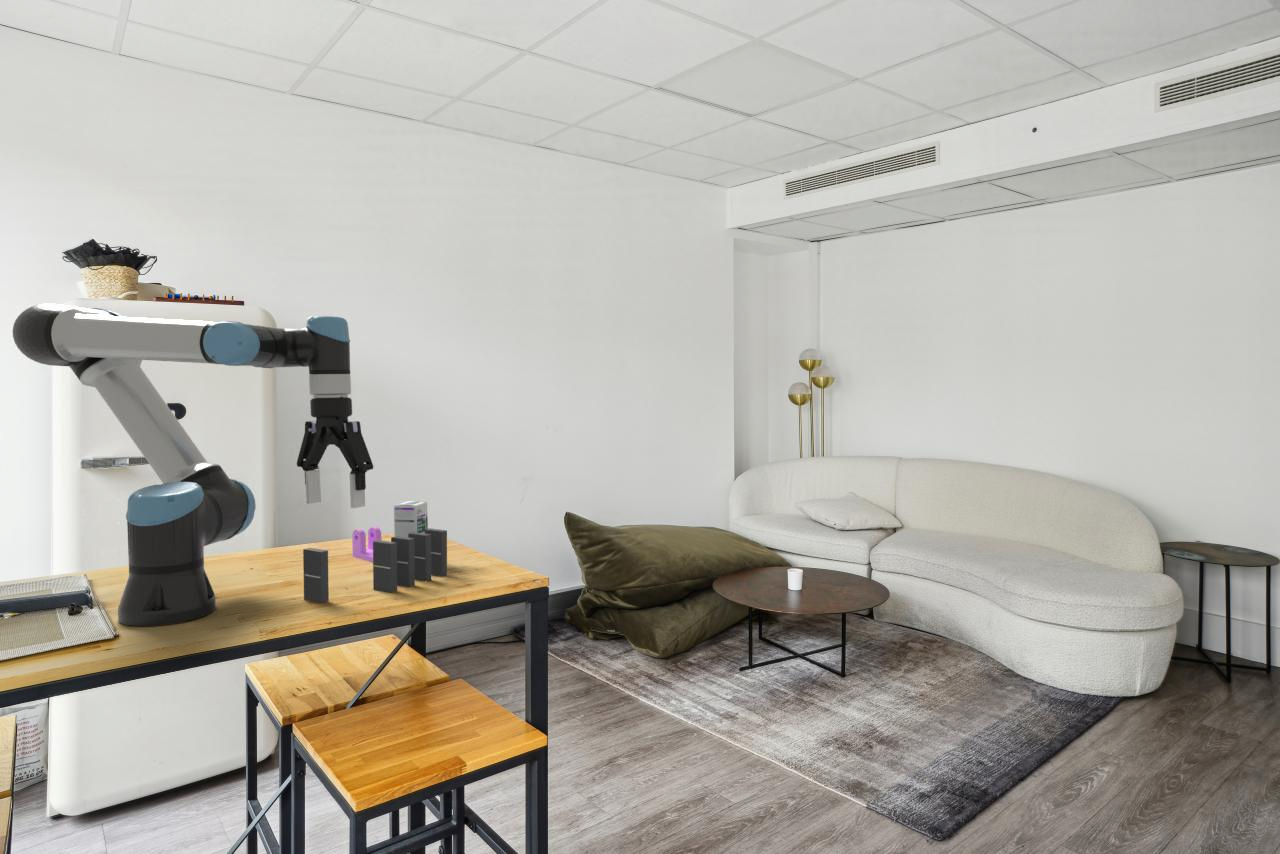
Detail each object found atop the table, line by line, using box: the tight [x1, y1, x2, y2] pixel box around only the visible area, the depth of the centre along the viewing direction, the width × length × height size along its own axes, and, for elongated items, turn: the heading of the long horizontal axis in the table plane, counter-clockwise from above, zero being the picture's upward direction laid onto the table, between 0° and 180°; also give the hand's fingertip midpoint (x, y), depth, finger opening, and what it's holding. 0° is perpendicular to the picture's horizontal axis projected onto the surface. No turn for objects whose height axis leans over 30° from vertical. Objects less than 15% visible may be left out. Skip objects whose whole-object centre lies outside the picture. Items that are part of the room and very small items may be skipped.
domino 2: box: [372, 539, 398, 594], centre depth 156 cm, size 5×2×10 cm, turn 63°
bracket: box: [351, 526, 382, 563], centre depth 185 cm, size 13×6×7 cm, turn 50°
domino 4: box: [408, 532, 432, 583], centre depth 165 cm, size 5×2×10 cm, turn 63°
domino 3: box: [390, 535, 416, 588], centre depth 161 cm, size 5×2×10 cm, turn 63°
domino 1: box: [302, 547, 330, 604], centre depth 148 cm, size 5×2×10 cm, turn 63°
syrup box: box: [393, 500, 429, 537], centre depth 179 cm, size 6×6×14 cm
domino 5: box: [425, 527, 448, 577], centre depth 170 cm, size 5×2×10 cm, turn 63°
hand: (335, 505), depth 150 cm, fingers open, 13 cm apart
